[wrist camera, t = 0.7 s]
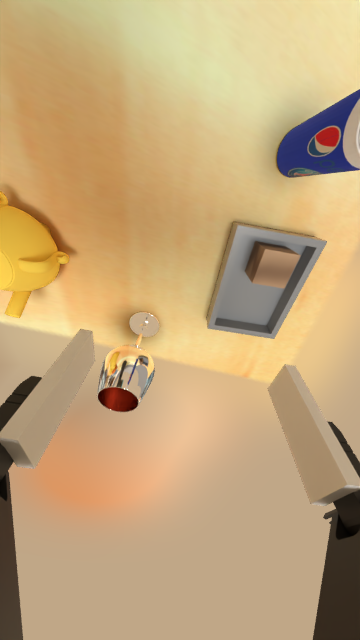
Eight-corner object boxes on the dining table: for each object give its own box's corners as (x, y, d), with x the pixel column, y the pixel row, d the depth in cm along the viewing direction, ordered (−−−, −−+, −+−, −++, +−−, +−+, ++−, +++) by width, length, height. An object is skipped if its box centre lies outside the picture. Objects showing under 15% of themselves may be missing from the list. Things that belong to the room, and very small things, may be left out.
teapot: (-30, 237, 34) (-114, 256, 24) (7, 176, 28) (-82, 171, 19) (46, 298, 40) (1, 332, 30) (87, 256, 34) (49, 282, 25)
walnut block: (255, 240, 31) (265, 249, 27) (286, 246, 31) (300, 255, 27) (244, 271, 34) (252, 283, 29) (272, 276, 34) (284, 288, 30)
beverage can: (267, 153, 26) (338, 120, 13) (305, 113, 23) (434, 27, 11) (288, 187, 28) (367, 185, 15) (325, 152, 25) (455, 117, 13)
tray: (233, 221, 30) (237, 225, 27) (314, 236, 31) (327, 241, 28) (206, 318, 40) (207, 328, 37) (268, 328, 41) (274, 338, 38)
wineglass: (167, 337, 43) (154, 415, 28) (132, 341, 45) (102, 418, 30) (158, 305, 39) (137, 377, 24) (119, 310, 40) (77, 383, 25)
